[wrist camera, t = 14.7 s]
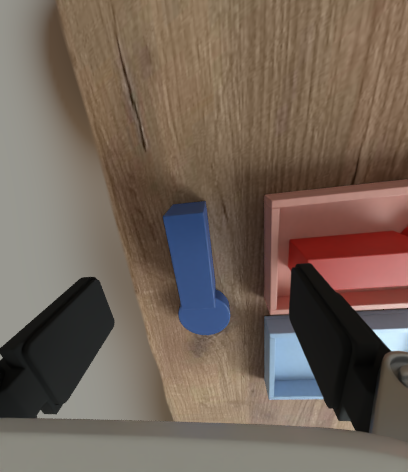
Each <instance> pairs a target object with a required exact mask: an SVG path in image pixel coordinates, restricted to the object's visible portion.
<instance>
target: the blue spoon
mask: <svg viewBox="0 0 408 472" xmlns="http://www.w3.org/2000/svg"><path fill="white" fill-rule="evenodd" d="M163 221H164V226H165V230H166V235H167V240H168V245H169V249H170V254H171V259H172V264H173V269H174V273H175V278H176V283H177V288H178V292H179V297H180V302H181V303H180V307H179V312H178V315H179V320H180V322H181V324H182V325H183V326H184V327H185V328H186V329H187V330H189V331H191V332H193V333H196V334H200V335H211V334H215V333H218V332H220V331H222V330H223V329H224V328H225V327H226V326H227V325H228V323H229V320H230V307H229V302H228V300H227V298H226V297H225V295H224V294H223V293H221V292H220V291H218V290H216V289H215V276H214V267H213V259H212V250H211V242H210V233H209V225H208V216H207V208H206V201H201V202H192V203H183V204H173V205H172V206H171V208H170V209H169V210H168V211H167V212H166V213H165V215H164V216H163Z"/></svg>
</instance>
